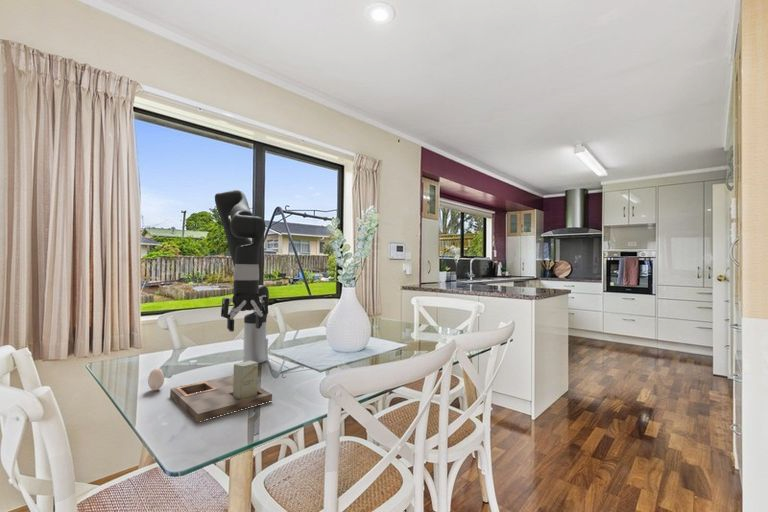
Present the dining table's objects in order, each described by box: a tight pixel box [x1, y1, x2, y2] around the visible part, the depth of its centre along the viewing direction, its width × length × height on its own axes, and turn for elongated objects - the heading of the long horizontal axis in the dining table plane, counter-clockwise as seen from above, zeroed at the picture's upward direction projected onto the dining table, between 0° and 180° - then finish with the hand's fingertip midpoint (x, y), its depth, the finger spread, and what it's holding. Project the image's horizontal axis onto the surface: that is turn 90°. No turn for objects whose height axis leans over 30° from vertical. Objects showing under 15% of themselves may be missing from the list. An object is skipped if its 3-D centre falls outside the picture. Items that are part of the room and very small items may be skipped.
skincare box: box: [233, 360, 259, 400], centre depth 116 cm, size 6×4×12 cm
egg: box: [147, 367, 165, 391], centre depth 124 cm, size 5×5×7 cm
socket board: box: [169, 374, 273, 423], centre depth 118 cm, size 22×26×3 cm
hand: (244, 329), depth 116 cm, fingers open, 8 cm apart
